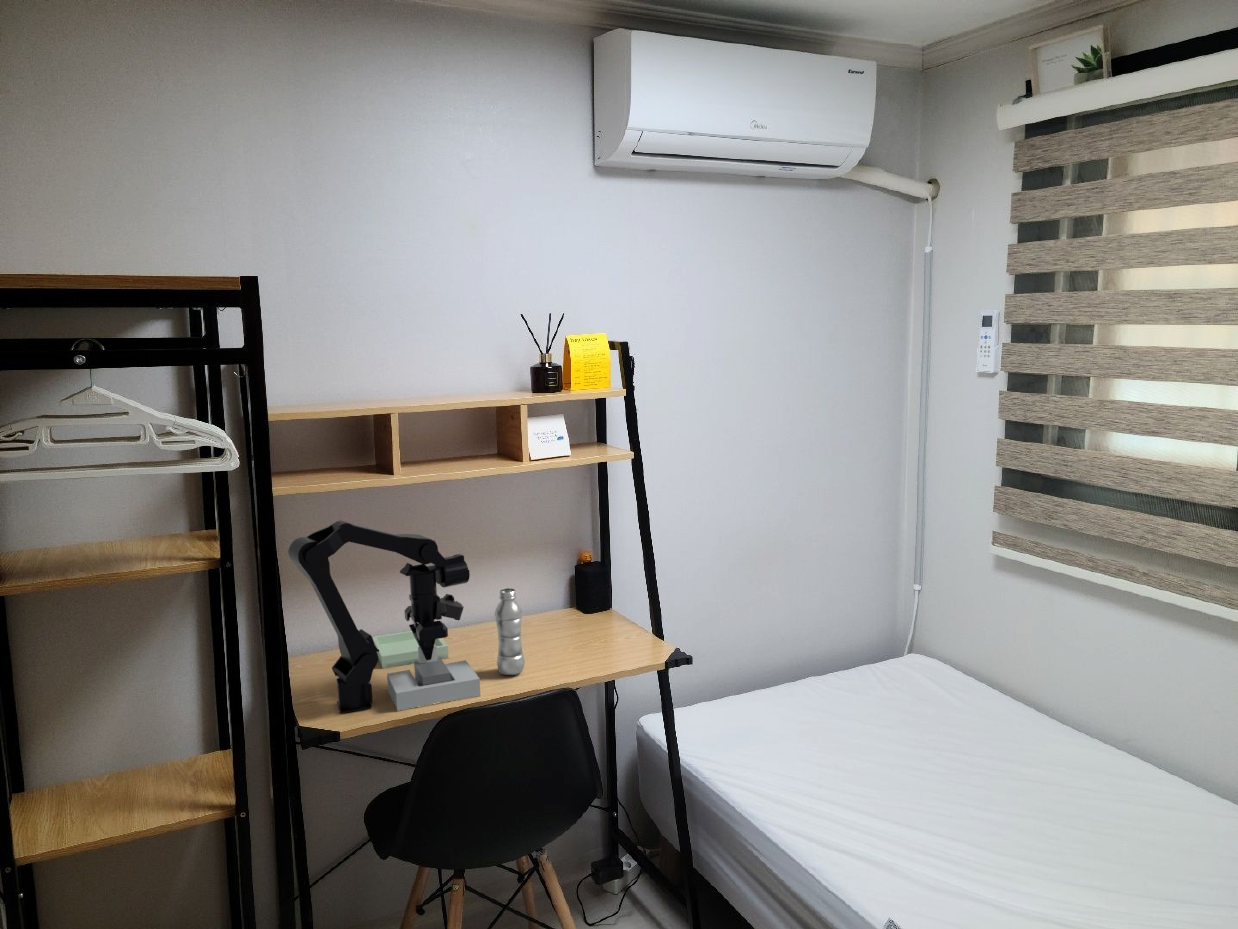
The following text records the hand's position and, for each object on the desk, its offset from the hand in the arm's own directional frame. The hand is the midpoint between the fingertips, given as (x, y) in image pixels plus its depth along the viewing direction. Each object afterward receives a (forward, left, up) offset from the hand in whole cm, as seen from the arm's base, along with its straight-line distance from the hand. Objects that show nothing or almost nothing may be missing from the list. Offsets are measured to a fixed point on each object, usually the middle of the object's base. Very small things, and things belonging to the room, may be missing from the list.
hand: (427, 658), depth 203 cm
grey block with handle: (0, -4, -7) cm, 8 cm away
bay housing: (0, -4, -6) cm, 8 cm away
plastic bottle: (+19, -1, -7) cm, 20 cm away
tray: (0, +24, -6) cm, 25 cm away
